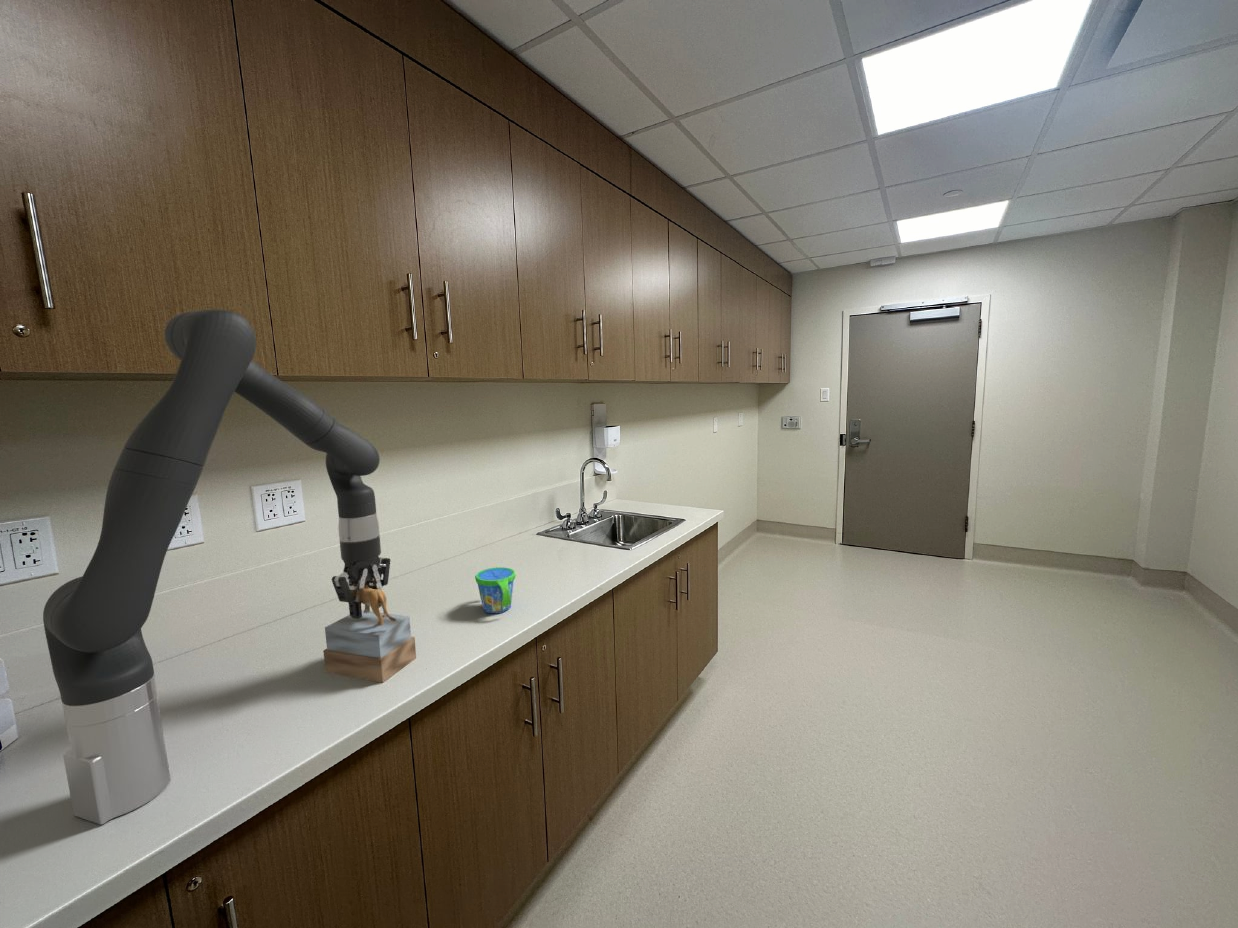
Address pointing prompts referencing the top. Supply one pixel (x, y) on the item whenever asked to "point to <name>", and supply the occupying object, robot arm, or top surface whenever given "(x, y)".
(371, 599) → the lion figurine
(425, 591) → the top surface
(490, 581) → the snack cup
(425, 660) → the top surface
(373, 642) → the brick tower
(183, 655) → the top surface
